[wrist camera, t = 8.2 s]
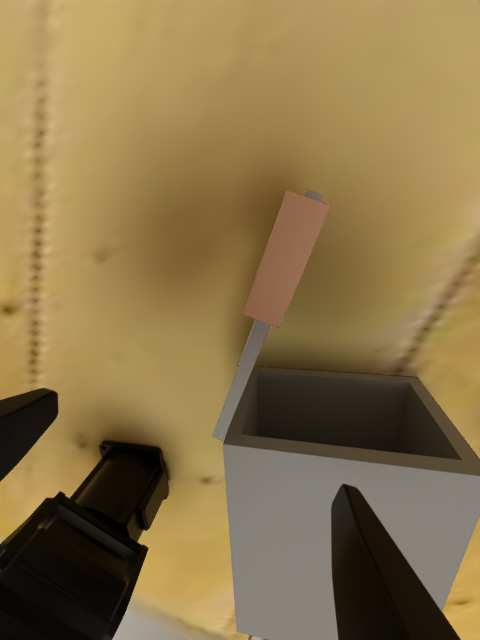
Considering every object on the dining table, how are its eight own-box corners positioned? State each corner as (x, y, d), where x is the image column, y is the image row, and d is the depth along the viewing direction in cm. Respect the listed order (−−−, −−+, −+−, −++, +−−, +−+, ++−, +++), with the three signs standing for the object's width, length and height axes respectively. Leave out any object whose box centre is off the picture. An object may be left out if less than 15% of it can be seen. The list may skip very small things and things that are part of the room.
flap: (247, 366, 21) (196, 521, 10) (235, 361, 21) (171, 511, 10) (311, 204, 16) (342, 180, 5) (296, 199, 16) (295, 164, 6)
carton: (252, 520, 27) (236, 631, 20) (248, 366, 21) (223, 444, 14) (380, 543, 25) (416, 678, 18) (417, 377, 19) (494, 478, 12)
